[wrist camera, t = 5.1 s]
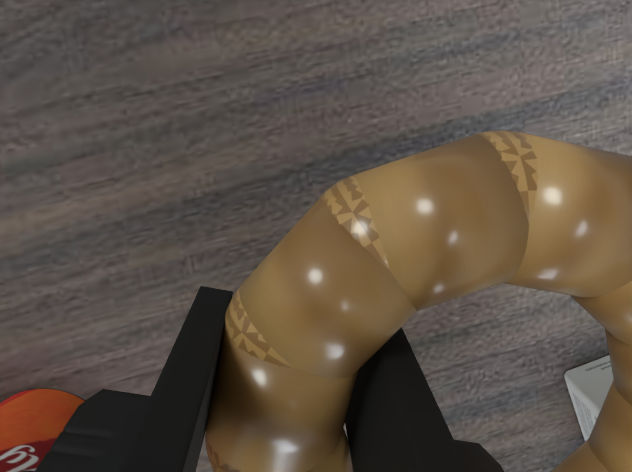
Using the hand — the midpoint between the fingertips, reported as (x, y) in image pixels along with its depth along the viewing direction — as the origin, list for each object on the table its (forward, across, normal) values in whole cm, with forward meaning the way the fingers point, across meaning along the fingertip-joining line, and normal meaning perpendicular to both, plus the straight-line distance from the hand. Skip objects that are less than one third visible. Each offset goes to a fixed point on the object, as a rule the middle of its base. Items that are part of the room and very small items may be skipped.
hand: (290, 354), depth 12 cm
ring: (-1, +5, 0) cm, 5 cm away
